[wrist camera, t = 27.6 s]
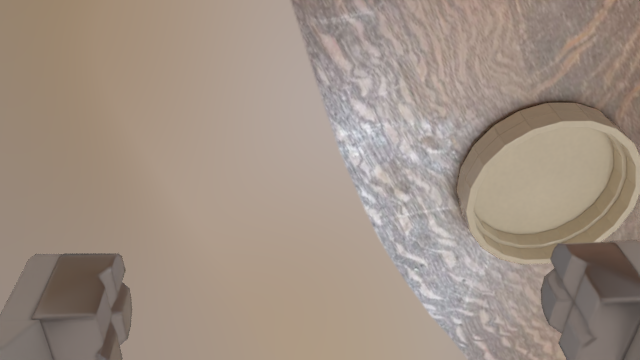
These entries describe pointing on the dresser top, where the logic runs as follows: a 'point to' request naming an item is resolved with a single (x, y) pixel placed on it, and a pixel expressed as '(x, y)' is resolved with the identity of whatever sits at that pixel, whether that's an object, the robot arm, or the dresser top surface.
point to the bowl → (548, 181)
